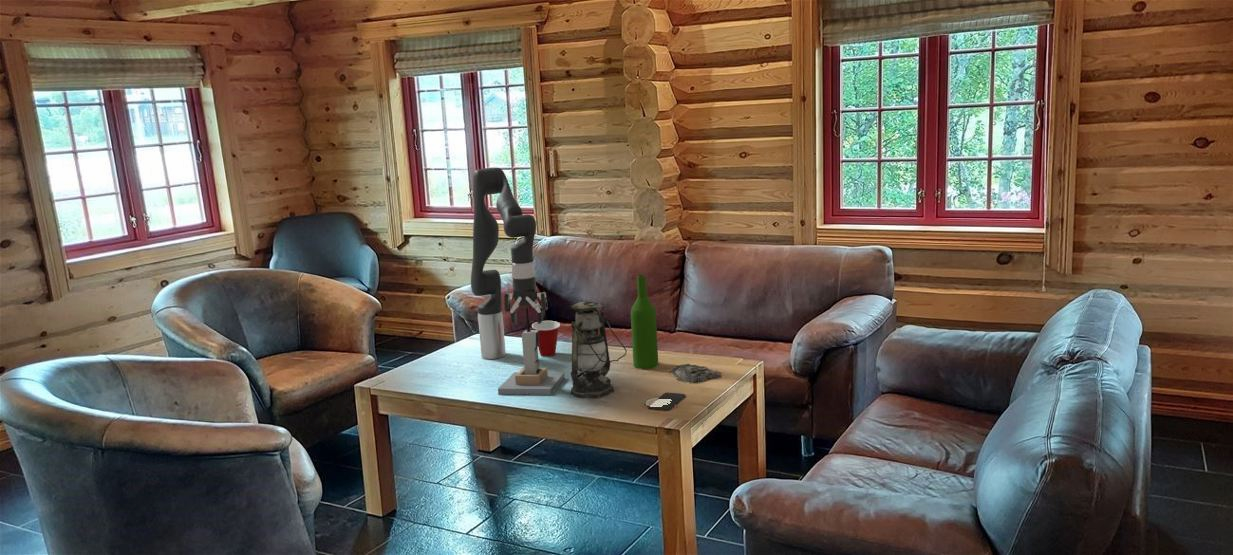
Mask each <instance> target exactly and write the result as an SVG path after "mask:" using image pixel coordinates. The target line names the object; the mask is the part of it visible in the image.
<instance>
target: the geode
mask: <svg viewBox="0 0 1233 555" xmlns="http://www.w3.org/2000/svg"><path fill="white" fill-rule="evenodd" d="M671 373H672V374H673V375H674V376H673V377H675V376H676V377H675V378H676V379H677V382H683V381H684V382H683V383H685V382H689V384H692V383H697V384H701V383H704V382H707V381H709V380H713V379H718V378H722V375H723V374H722V372H720V371H717V370H712V369H709V368H708V367H707V366H703V365H702V366H700V365H697V364H690V363H686V364H679V365H675V367H673V368H672V369H671V370H670V374H671ZM672 374H671V375H672ZM677 377H678V378H677ZM712 378H713V379H712ZM703 381H704V382H703ZM698 382H699V383H698ZM700 382H701V383H700Z"/></svg>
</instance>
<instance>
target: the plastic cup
mask: <svg viewBox="0 0 1233 555" xmlns="http://www.w3.org/2000/svg"><path fill="white" fill-rule="evenodd" d="M560 326H561V323H560V322H558V321H556V320H555V321H553V320H543V321H542V322H541V324H538V321H536V322H533V323H532V324H531V328H532V330H539V345H538V353H539V356H541V357H551V356H555V355H556V353H557V343H558V334H559V328H560Z"/></svg>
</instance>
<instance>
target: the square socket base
mask: <svg viewBox="0 0 1233 555" xmlns="http://www.w3.org/2000/svg"><path fill="white" fill-rule="evenodd" d="M539 369H540V372H539V373H538V374H537V375H525V370H524V367H523V368H521V370H519V372H518V371H517V372H516V371H515V372H513V373H512V374H511V375H510V376H509V377H508V378H507V379H506V380H505V381H504V382H503V383H502V384H501V385H500V386H499V387H498V388H497V394H498V395H513V394H517V395H518V394H520V395H519V396H522V395H521V394H523V395H524V394H526V395H528V394H529V395H530V396H531V395H532V396H533V395H535V396H536V395H537V396H542V395H543V396H544V395H545V396H551V395H553V393H554V392H555V391H556V389H557V388H558V387H559V386H560V385H561V384H562V382H563V381H564V380H565V379H566V378H565V371H563V372H561V371H560V372H559V371H557V372H556V371H555V372H554V371H553V372H548V367H539ZM554 390H555V391H554ZM529 395H528V396H529Z"/></svg>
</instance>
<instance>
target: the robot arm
mask: <svg viewBox="0 0 1233 555" xmlns="http://www.w3.org/2000/svg"><path fill="white" fill-rule="evenodd" d="M472 192H473V225H472V228H473V229H472V264H471V265H472V266H471V274H470V288H471V292H472V294H473V295H474V296H476V297H483V296H489V297H488V299H486V300H485V301H483V302H481V303H480V304H478V305H477V308H476V309H477V321H478V329H479V330H478V331H479V332H478V333H479V342H480V353H481V354H480V356H481V358H482V359H485V360H495V359H500V358H504V357H505V356H506V355H507V354H506V353H507V352H506V342H505V340H506V339H505V331H504V330H505V328H504V320H503V318H504V317H503V316H504V315H503V302H502V301H503V300H504V312H507V313H510V320H511V322H512V324H513V325H516V324H518V318H517V317H518V315H517V314H518V313H517V309H518V308H519V306H520V307H532V308H533V309H534V310H535V311H536V312H537V313H536V314H537V315H536V316H537V322H538V324H541V322H542V321H544V314H543V312H545V311H547V310H548V309H549V307H548V306H549V304H548V299H547V297H548V296H547V292H546V291H543V292H538V291H537V281H536V270H535V269H536V268H535V265H534V264H535V263H534V254H533V253H534V252H533V251H534V250H533V248H534V247H533V246H534V242H535V241H534V240H535V235H536V232H537V222H536V219H535V218H534V216H533V215H532V214H524V213H523V210H522V208H521V207H520V205H519V203H518V202H517V201H516V199H515V196H514V194H513V191H512V189H511V186H510V184H509V180H508V178H507V175H506V174H505V172H504V170H503V169H502V168H500V167H487V168H479V169H475V170H474V172H473V176H472ZM498 194H499V195H498ZM486 195H487V196H488V195H489V196H490V195H498V197H497V198H496V202H495V203H496V204H495V206H496V207H495V208H496V210H497V212H498V214H499V215H500V217H501V219H502V222H503V231H504V235H506V236H507V237H509V238H513V239H516V238H522V240H521V242H519V243H516V244H513V245H512V246H511V248H510V255H511V278H512V289H513V292H512V293H510V292H506V293H505V294H504V297H503V298H504V299H503V298H502V278H501V275H500V272H499V271H498V270H497V269H487V270H484V268H485V265H486V263H487V261H488V259H489V258H490V256H492V254H493V253H494V251H495V250H496V248H497V246H498V244H499V234H500V233H499V232H500V229H499V223H498V222H497V220H496V218H495V217H494V215H493V213H492V212H491V211H490V210H489V208H488V206H487V205H486V203H485V196H486ZM512 298H513V300H514V304H512V307H511V300H512ZM538 298H539V300H540V301H541V305H540V303H539V301H538V300H537V299H538ZM502 299H503V300H502Z"/></svg>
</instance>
